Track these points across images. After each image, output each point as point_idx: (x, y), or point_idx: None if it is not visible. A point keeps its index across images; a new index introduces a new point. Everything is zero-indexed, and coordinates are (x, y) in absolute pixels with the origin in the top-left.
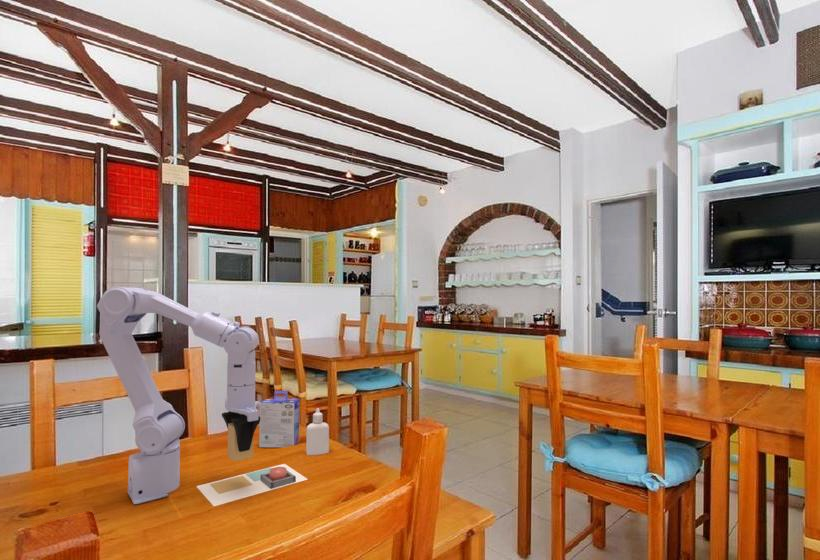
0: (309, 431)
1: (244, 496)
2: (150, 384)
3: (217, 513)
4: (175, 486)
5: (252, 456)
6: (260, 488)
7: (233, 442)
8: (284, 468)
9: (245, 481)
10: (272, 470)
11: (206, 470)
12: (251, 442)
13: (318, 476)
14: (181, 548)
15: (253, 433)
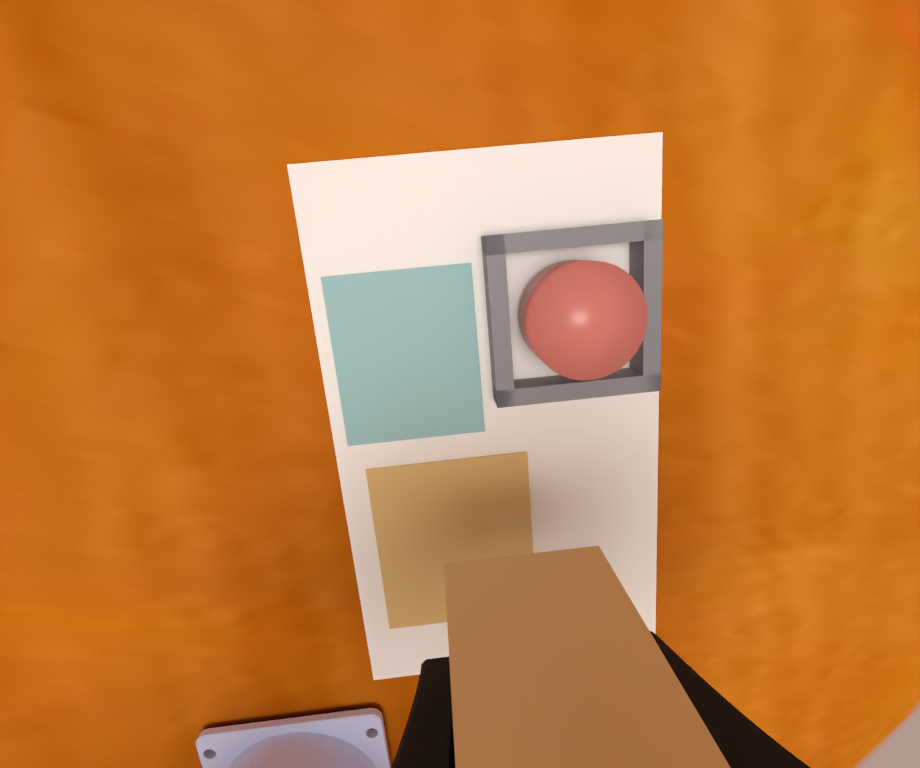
0: None
1: (647, 519)
2: None
3: (682, 622)
4: (354, 765)
5: (602, 555)
6: (604, 428)
7: None
8: (594, 274)
9: (463, 474)
10: (575, 359)
11: (111, 593)
12: (694, 672)
13: (596, 20)
14: (848, 744)
15: (799, 763)
